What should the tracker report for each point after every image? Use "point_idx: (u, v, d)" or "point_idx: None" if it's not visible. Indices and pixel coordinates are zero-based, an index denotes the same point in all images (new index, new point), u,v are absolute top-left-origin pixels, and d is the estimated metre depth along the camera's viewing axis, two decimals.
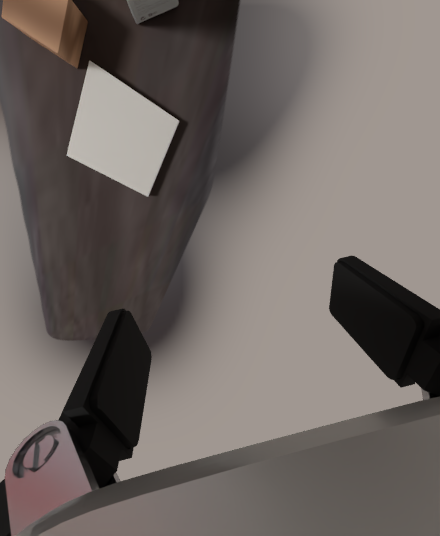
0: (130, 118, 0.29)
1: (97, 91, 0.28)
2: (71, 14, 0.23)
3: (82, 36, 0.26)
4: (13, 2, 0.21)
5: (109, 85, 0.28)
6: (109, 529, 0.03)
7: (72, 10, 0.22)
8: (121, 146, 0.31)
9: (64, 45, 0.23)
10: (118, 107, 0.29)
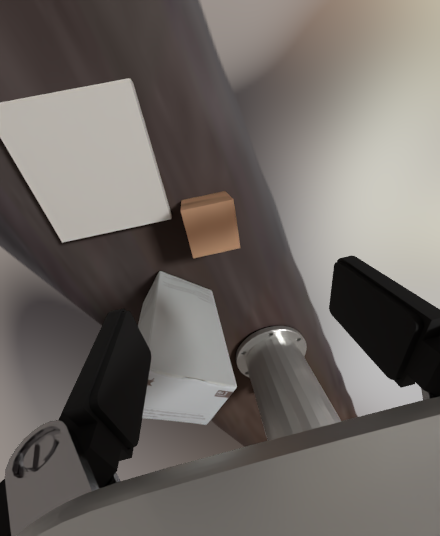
0: (103, 201, 0.22)
1: (149, 198, 0.22)
2: None
3: None
4: (228, 218, 0.20)
5: (143, 214, 0.23)
6: (109, 529, 0.03)
7: None
8: (84, 159, 0.20)
9: None
10: (121, 201, 0.22)
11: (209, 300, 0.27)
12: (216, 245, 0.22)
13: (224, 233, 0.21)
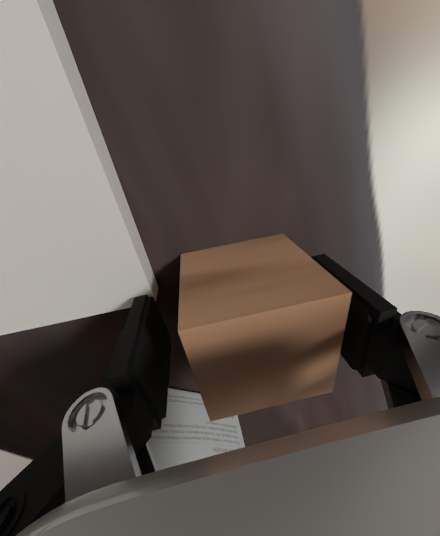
0: None
1: (94, 261, 0.08)
2: None
3: None
4: (320, 339, 0.07)
5: (83, 295, 0.09)
6: (109, 529, 0.03)
7: None
8: None
9: None
10: (17, 268, 0.08)
11: (234, 443, 0.13)
12: (275, 393, 0.08)
13: (302, 369, 0.07)
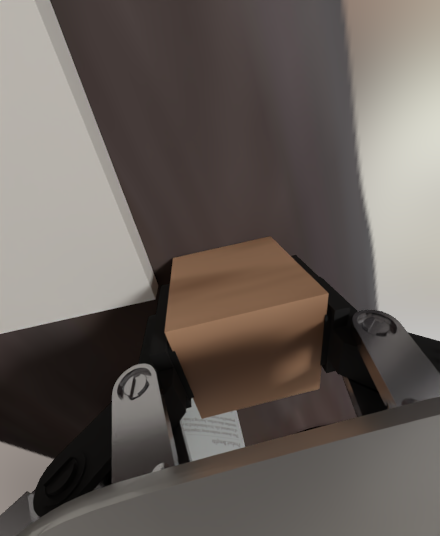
0: None
1: (97, 260, 0.09)
2: None
3: None
4: (302, 338, 0.07)
5: (87, 293, 0.09)
6: (109, 529, 0.03)
7: None
8: None
9: None
10: (25, 267, 0.08)
11: (232, 435, 0.14)
12: (263, 391, 0.08)
13: (287, 367, 0.08)
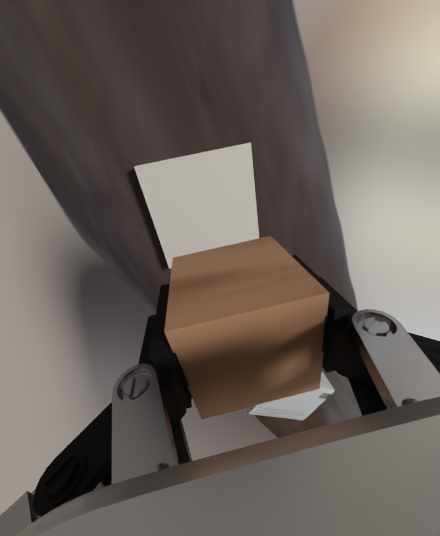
0: (209, 235, 0.26)
1: (245, 232, 0.26)
2: None
3: None
4: (303, 338, 0.07)
5: None
6: (109, 530, 0.03)
7: None
8: (202, 203, 0.24)
9: None
10: (223, 235, 0.26)
11: None
12: (263, 391, 0.08)
13: (287, 367, 0.08)
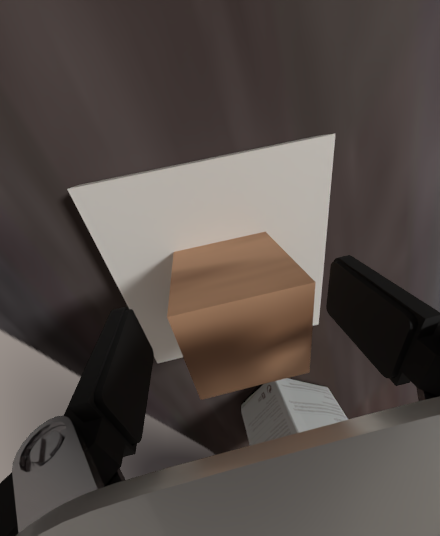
0: None
1: None
2: None
3: None
4: (292, 324, 0.08)
5: None
6: (109, 529, 0.03)
7: None
8: None
9: None
10: None
11: (342, 416, 0.19)
12: (257, 374, 0.09)
13: (279, 351, 0.09)
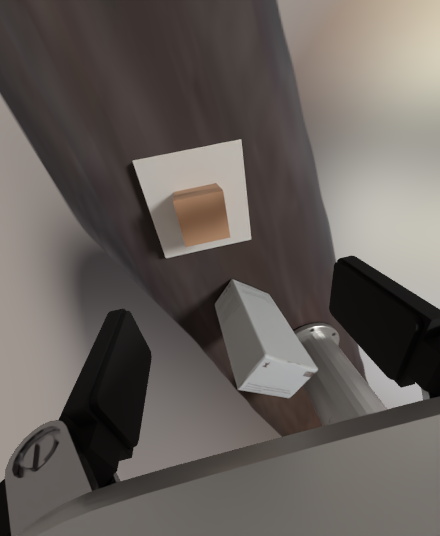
0: None
1: (237, 224, 0.28)
2: None
3: None
4: (218, 209, 0.22)
5: (230, 236, 0.29)
6: (109, 529, 0.03)
7: None
8: None
9: None
10: None
11: (272, 303, 0.33)
12: (208, 234, 0.23)
13: (215, 223, 0.22)
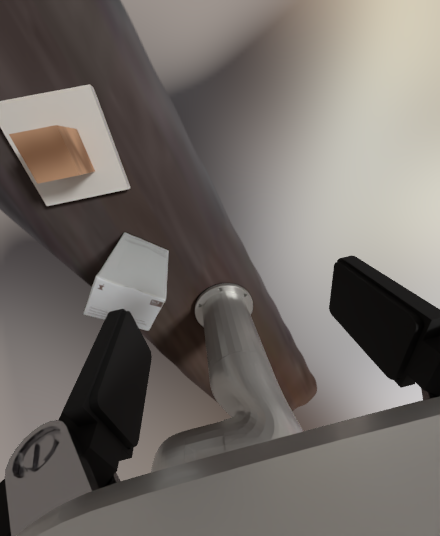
0: None
1: (110, 173, 0.30)
2: None
3: None
4: (57, 144, 0.23)
5: (107, 184, 0.30)
6: (109, 529, 0.03)
7: None
8: None
9: None
10: (89, 174, 0.30)
11: (163, 255, 0.35)
12: (56, 171, 0.25)
13: (59, 159, 0.24)
